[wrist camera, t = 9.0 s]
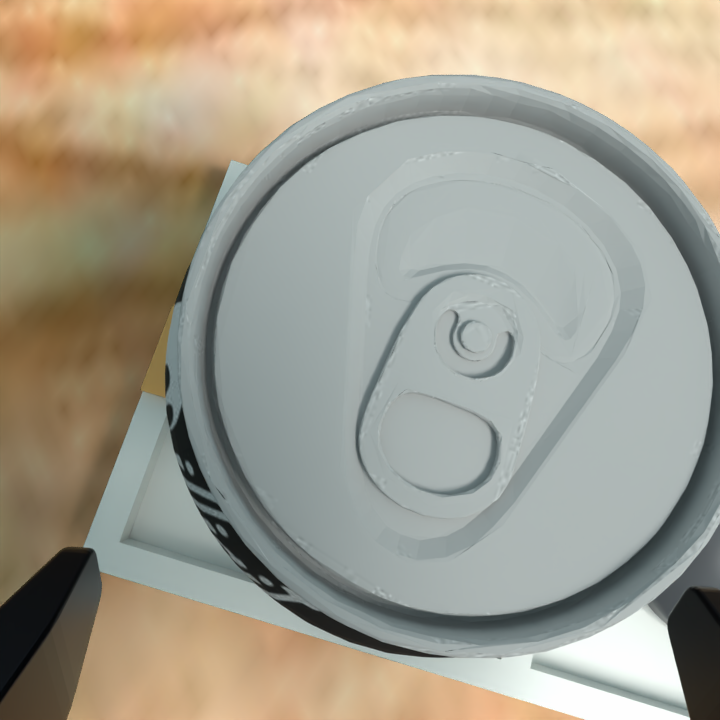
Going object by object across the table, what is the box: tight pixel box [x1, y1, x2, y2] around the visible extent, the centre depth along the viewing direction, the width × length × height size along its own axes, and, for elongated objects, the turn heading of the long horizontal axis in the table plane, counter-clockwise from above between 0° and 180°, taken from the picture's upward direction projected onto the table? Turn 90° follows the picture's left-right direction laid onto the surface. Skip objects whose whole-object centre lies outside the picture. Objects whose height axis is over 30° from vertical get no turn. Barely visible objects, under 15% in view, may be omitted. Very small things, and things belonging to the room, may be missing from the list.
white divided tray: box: [83, 160, 720, 720], centre depth 18 cm, size 12×23×2 cm, turn 73°
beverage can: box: [165, 75, 720, 658], centre depth 12 cm, size 7×7×12 cm
